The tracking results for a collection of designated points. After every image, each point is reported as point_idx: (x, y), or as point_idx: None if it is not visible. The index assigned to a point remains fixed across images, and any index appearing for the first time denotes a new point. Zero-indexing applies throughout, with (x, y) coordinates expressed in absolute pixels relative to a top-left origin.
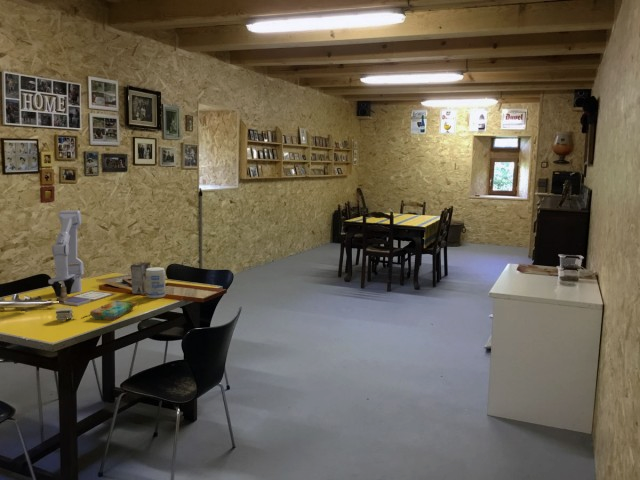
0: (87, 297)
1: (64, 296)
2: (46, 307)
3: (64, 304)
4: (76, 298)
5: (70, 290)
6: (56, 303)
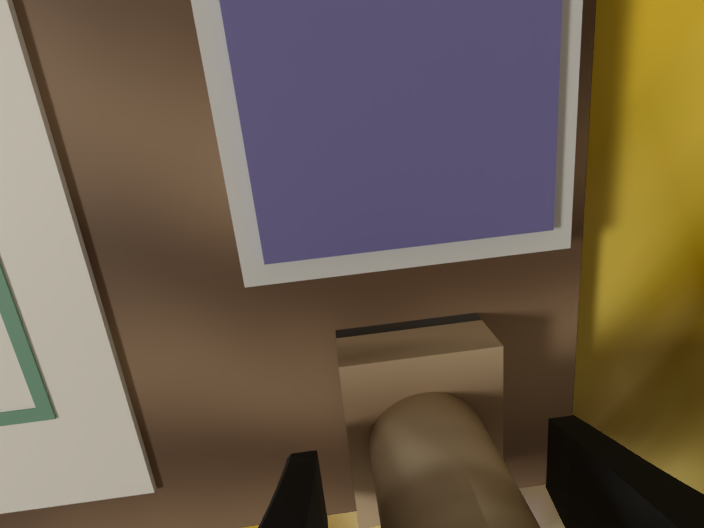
0: (23, 241)
1: (452, 408)
2: (685, 364)
3: (576, 188)
4: (323, 193)
5: (286, 502)
6: (574, 355)
